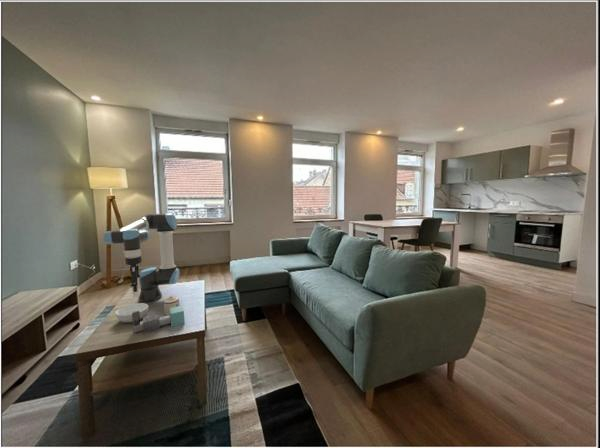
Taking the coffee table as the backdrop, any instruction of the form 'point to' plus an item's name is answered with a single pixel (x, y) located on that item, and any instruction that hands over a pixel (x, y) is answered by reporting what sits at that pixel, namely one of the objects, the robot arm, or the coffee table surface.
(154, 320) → the sleeve
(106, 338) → the coffee table surface
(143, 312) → the cereal bowl
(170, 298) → the teacup with lid
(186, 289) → the coffee table surface
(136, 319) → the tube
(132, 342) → the coffee table surface
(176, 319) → the socket
